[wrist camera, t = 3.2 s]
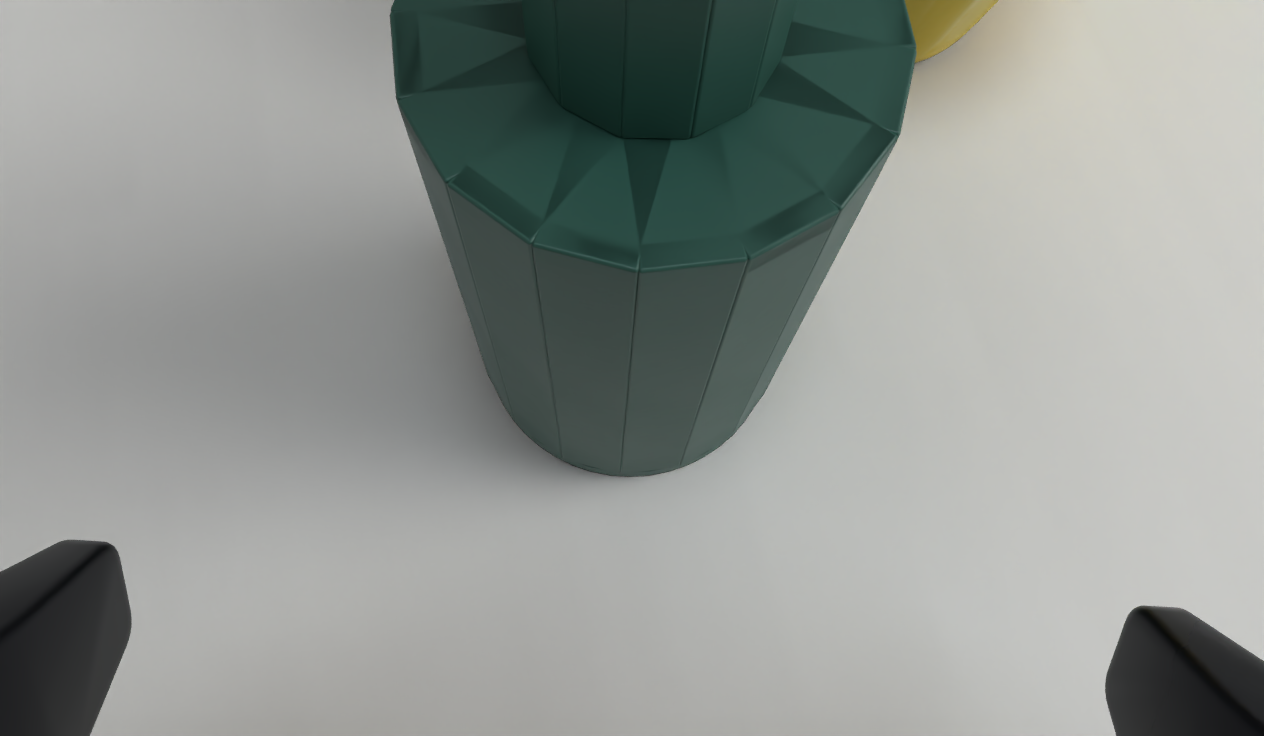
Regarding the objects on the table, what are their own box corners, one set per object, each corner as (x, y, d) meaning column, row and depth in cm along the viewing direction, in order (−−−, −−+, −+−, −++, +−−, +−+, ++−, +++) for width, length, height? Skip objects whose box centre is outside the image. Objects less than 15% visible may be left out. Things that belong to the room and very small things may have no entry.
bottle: (574, 531, 23) (532, 230, 8) (437, 287, 24) (206, -310, 10) (825, 388, 24) (1163, -89, 10) (677, 165, 25) (777, -524, 11)
